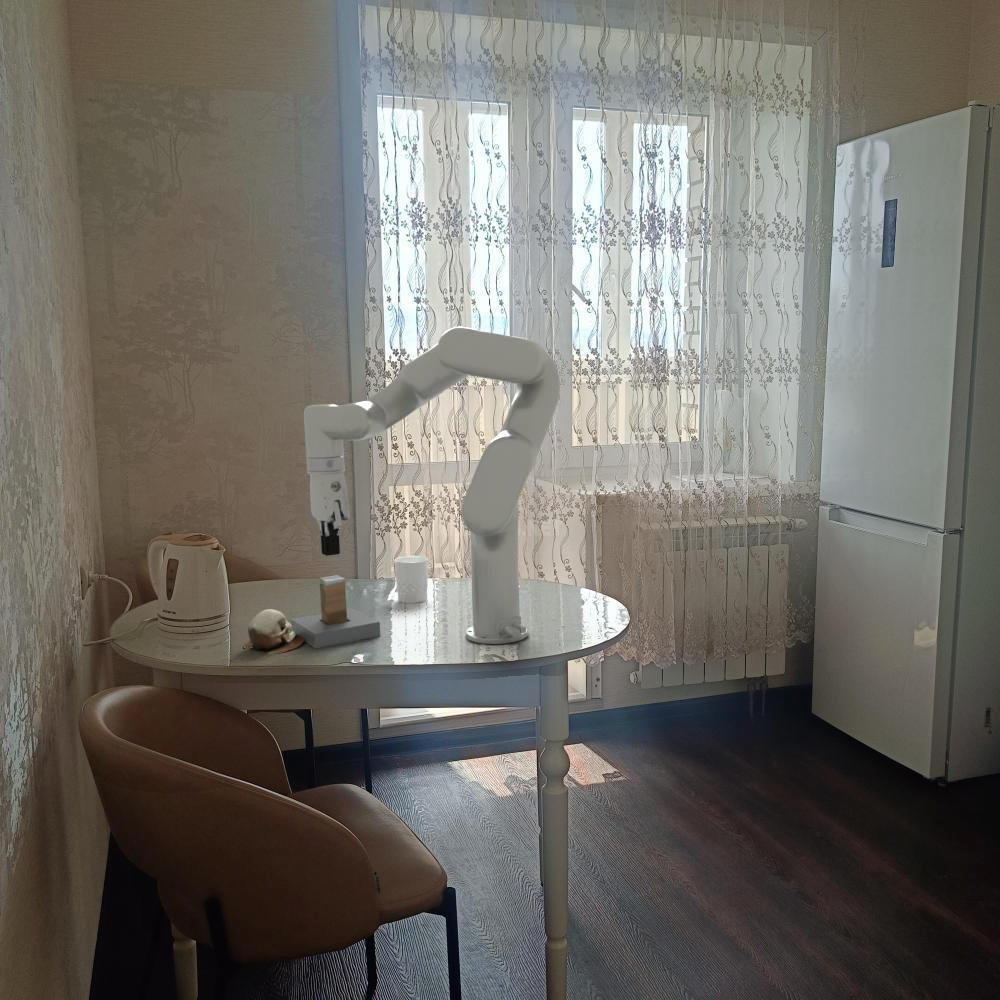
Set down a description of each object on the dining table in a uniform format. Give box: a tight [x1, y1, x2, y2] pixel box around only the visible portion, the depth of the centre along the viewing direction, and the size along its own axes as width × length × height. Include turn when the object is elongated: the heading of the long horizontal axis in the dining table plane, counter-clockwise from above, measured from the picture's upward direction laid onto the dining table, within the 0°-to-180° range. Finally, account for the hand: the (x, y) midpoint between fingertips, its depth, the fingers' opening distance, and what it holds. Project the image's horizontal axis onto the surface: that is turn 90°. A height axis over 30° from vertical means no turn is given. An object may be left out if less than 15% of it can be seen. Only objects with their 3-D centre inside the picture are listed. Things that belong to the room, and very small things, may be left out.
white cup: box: [393, 555, 429, 604], centre depth 216 cm, size 8×8×10 cm
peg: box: [318, 574, 347, 625], centre depth 189 cm, size 4×4×12 cm
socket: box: [290, 607, 381, 649], centre depth 189 cm, size 14×14×3 cm
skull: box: [242, 608, 305, 655], centre depth 183 cm, size 12×10×10 cm
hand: (330, 553), depth 187 cm, fingers closed
